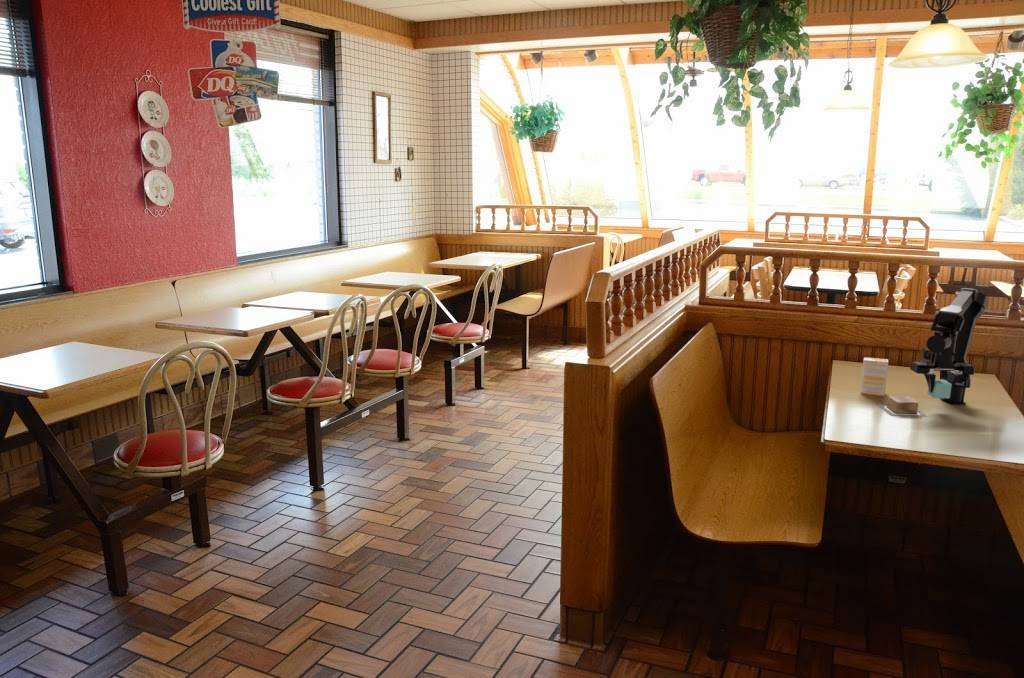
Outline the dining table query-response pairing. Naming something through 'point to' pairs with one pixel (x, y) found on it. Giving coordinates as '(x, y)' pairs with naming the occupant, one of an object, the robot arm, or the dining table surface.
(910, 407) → the walnut block
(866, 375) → the supplement box
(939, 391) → the teal cube
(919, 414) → the mat
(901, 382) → the dining table surface
